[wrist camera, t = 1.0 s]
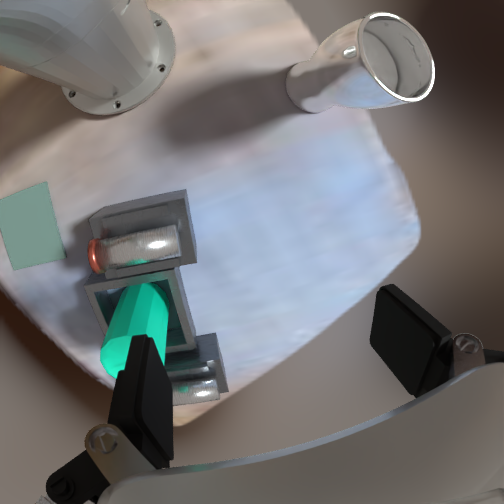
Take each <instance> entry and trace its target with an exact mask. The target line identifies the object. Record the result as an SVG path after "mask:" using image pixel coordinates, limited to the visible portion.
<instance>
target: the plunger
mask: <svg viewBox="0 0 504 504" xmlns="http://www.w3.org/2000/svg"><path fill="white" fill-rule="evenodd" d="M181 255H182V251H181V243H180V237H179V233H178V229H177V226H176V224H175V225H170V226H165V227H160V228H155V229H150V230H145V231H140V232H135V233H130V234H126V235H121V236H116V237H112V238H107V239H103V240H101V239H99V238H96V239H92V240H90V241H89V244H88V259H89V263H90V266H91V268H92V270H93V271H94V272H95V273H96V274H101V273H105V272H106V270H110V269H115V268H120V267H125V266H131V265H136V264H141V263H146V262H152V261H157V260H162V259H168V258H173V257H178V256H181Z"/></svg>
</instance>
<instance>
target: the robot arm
mask: <svg viewBox="0 0 504 504" xmlns="http://www.w3.org/2000/svg"><path fill="white" fill-rule="evenodd" d="M157 25H160V26H157ZM174 58H175V39H174V35H173V32H172V29H171V27H170V26H169V24H168V23H167V21H166V20H165V19H164V18H163V17H162V16H160V15H159V14H157V13H156V12H154V11H152V10H149V9H148V6H147V3H146V0H0V65H2V66H5V67H7V68H10V69H14V70H17V71H20V72H23V73H26V74H29V75H32V76H35V77H38V78H40V79H43V80H46V81H49V82H51V83H54V84H57V85H60V86H61V88H62V91H63V94H64V95H65V97H66V98H67V100H68V101H69V102H70V103H71V104H72V105H73V106H74V107H76V108H78V109H79V110H81V111H83V112H86V113H90V114H95V115H113V114H118V113H122V112H125V111H127V110H130V109H132V108H134V107H136V106H138V105H139V104H141V103H143V102H144V101H146V100H147V99H148V98H149V97H151V96H152V95H153V94H154V93H155V92H156V91H157V90H158V89H159V88H160V86H161V85H162V84H163V82H164V81H165V79H166V78H167V76H168V75H169V73H170V70H171V68H172V66H173V62H174ZM162 68H164V69H165V70H164V72H160V70H161V69H162ZM75 93H76V95H75V96H74V94H75ZM118 104H121V106H120V107H119V108H117V105H118ZM451 335H452V333H451V332H450V331H449V330H448V329H447V328H446V327H445V326H444V325H442V324H441V323H440V322H439V321H438V320H437V319H435V318H434V317H433V316H432V315H431V314H429V313H428V312H427V311H426V310H425V309H424V308H422V307H421V306H420V305H419V304H417V303H416V302H415V301H414V300H413V299H411V298H410V297H409V296H408V295H406V294H405V293H404V292H403V291H402V290H400V289H399V288H398V287H397V286H395V285H394V284H389V285H385V286H382V287H381V288H380V289H379V291H378V292H377V294H376V302H375V309H374V316H373V322H372V328H371V335H370V344H371V346H372V347H373V349H374V350H375V351H376V352H377V354H378V355H379V356H380V357H381V358H382V360H383V361H384V362H385V363H386V365H387V366H388V367H389V369H390V370H391V371H392V372H393V374H394V375H395V376H396V377H397V379H398V380H399V381H400V382H401V384H402V385H403V386H404V387H405V389H406V390H407V391H408V393H409V394H411V395H414V396H415V398H416V399H414V400H413V401H410V402H408V403H406V404H404V405H402V406H400V407H398V408H396V409H394V410H392V411H390V412H387V413H385V414H383V415H381V416H378V417H376V418H374V419H371V420H369V421H367V422H364V423H362V424H359V425H356V426H354V427H351V428H349V429H346V430H343V431H341V432H338V433H335V434H332V435H329V436H326V437H323V438H320V439H316V440H313V441H310V442H307V443H303V444H300V445H296V446H292V447H289V448H285V449H281V450H277V451H272V452H268V453H264V454H260V455H254V456H249V457H244V458H239V459H232V460H226V461H220V462H214V463H207V464H198V465H188V466H182V467H173V468H170V466H169V460H173V458H174V451H173V388H172V384H171V382H170V379H169V377H168V375H167V372H166V370H165V367H164V365H163V362H162V360H161V357H160V355H159V352H158V350H157V347H156V345H155V342H154V339H153V338H152V337H148V335H147V334H142V335H134V336H132V338H131V342H130V346H129V351H128V355H127V359H126V364H125V368H124V370H120V371H119V372H118V374H117V378H116V383H115V387H114V392H113V397H112V402H111V407H110V412H109V418H108V423H107V424H99V425H97V426H95V427H93V428H92V429H91V430H89V432H88V433H87V435H86V437H85V448H86V450H85V451H84V452H82V453H81V454H80V455H78V456H77V457H75V458H74V459H72V460H71V461H70V462H68V463H67V464H65V465H64V466H63V467H61V468H60V469H58V470H57V471H56V472H54V473H53V474H52V475H51V476H50V477H49V478H48V480H47V482H46V492H47V495H46V496H45V497H43V496H41V497H40V498H39V500H38V501H37V502H36V503H35V504H504V352H502V351H495V350H488V349H483V347H482V344H481V342H480V340H479V339H478V338H476V337H475V336H473V335H471V334H467V333H462V334H458V335H457V336H455V337H454V339H452V338H450V337H451ZM162 468H165V469H162Z"/></svg>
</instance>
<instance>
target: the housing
mask: <svg viewBox="0 0 504 504" xmlns="http://www.w3.org/2000/svg"><path fill="white" fill-rule="evenodd" d="M89 222H90V226H91V230H92V234H93V237H94V239H96V238H99V239H101V240H103V239H107V238H112V237H116V236H121V235H126V234H130V233H135V232H140V231H145V230H150V229H155V228H160V227H165V226H170V225H175V224H176V226H177V229H178V233H179V237H180V243H181V251H182V255H181V256H178V257H173V258H168V259H162V260H157V261H152V262H146V263H141V264H136V265H131V266H125V267H120V268H115V269H110V270H106V272H105V273H101V274H96V273H95V272H93V273H92V274H91V276H90V277H89V279H88V280H87V282H86V283H85V285H84V288H85V291H86V293H87V296H88V298H89V301H90V303H91V306H92V308H93V310H94V313H95V315H96V317H97V320H98V322H99V324H100V327H101V329H102V331H103V333H104V335H105V336H106V333H107V330H108V328H109V325H110V322H111V320H112V317H113V314H114V312H115V311H114V308H113V306H112V303H111V301H110V298H109V295H108V292H107V290H109V289H115V288H121V287H126V286H132V285H138V284H143V283H149V282H155V281H160V280H166V279H168V282H169V286H170V289H171V293H172V296H173V300H174V303H175V307H176V310H177V313H178V317H179V320H180V323H181V327H179V328H173V329H167V336H166V348H165V361H164V367H165V370H166V372H167V375H168V377H169V379H170V382H171V384H172V385H173V384H181V383H188V382H195V381H201V380H207V379H213V378H216V380H217V384H218V388H219V393H224V392H229V390H228V385H227V380H226V374H225V368H224V364H223V360H222V356H221V352H220V348H219V344H218V340H217V336H216V333H212V334H207V335H201V336H196V330H195V327H194V323H193V320H192V316H191V312H190V309H189V305H188V301H187V297H186V294H185V290H184V286H183V282H182V278H181V274H180V270H179V266H182V265H187V264H193V263H197V252H196V240H195V235H194V230H193V225H192V219H191V214H190V208H189V203H188V197H187V191H186V189H185V190H180V191H174V192H169V193H164V194H159V195H155V196H150V197H145V198H140V199H136V200H131V201H127V202H123V203H118V204H114V205H110V206H106V207H104V208H102V209H101V210H100V211H98V212H97V213H96V214H94V215H93V216H92V217H91V218H89Z"/></svg>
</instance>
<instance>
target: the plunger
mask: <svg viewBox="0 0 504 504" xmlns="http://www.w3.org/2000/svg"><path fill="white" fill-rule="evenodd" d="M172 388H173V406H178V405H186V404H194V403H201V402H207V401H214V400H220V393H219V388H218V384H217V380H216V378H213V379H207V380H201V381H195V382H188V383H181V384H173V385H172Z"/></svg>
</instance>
